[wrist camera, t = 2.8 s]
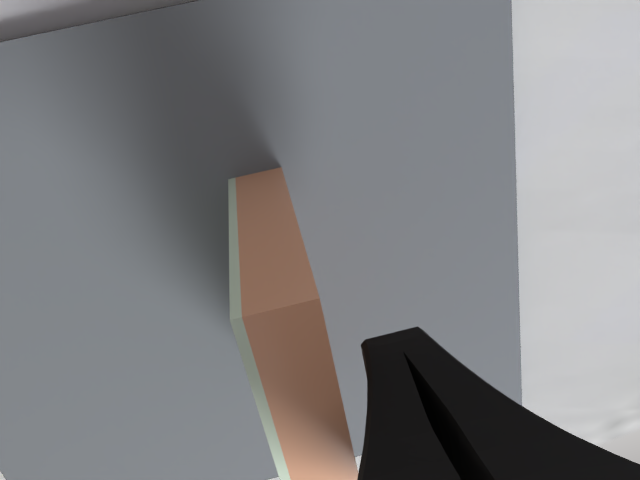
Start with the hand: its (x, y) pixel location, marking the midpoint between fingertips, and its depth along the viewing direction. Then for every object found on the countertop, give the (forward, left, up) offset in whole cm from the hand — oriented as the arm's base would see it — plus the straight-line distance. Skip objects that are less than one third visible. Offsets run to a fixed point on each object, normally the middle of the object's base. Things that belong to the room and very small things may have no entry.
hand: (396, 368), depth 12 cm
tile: (+2, 0, -5) cm, 5 cm away
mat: (+4, 0, -5) cm, 7 cm away
